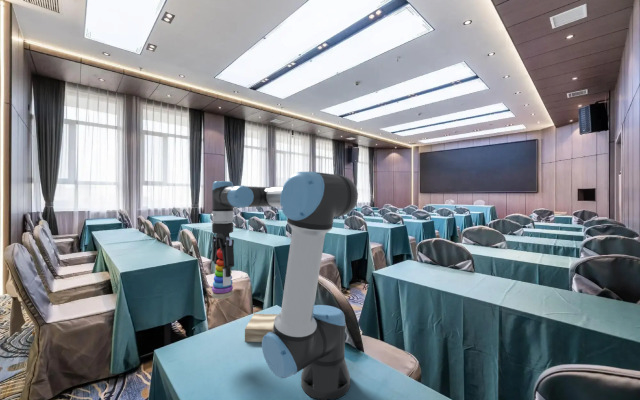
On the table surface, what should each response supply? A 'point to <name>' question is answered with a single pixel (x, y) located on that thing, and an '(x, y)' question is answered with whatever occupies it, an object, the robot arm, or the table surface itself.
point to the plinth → (259, 327)
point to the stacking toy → (220, 280)
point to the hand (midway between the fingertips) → (222, 282)
